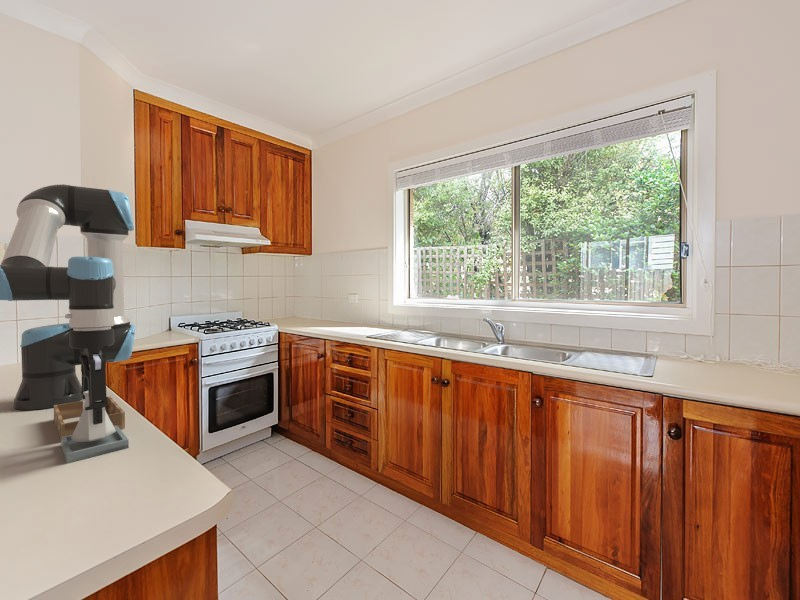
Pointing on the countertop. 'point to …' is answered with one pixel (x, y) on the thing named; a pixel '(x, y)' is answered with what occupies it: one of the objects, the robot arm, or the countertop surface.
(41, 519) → the countertop surface
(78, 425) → the flask
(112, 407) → the caddy
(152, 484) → the countertop surface
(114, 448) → the tray
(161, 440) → the countertop surface
